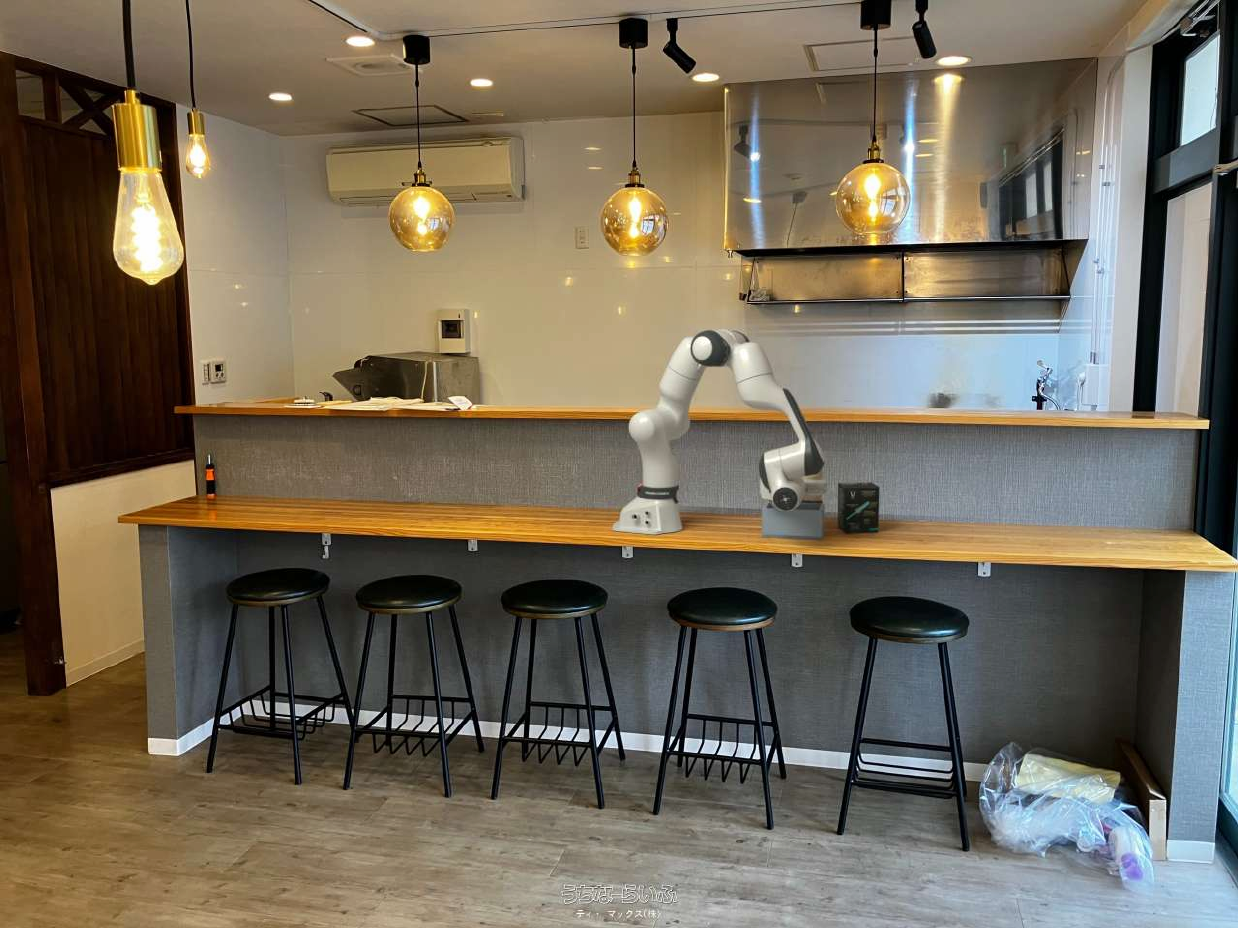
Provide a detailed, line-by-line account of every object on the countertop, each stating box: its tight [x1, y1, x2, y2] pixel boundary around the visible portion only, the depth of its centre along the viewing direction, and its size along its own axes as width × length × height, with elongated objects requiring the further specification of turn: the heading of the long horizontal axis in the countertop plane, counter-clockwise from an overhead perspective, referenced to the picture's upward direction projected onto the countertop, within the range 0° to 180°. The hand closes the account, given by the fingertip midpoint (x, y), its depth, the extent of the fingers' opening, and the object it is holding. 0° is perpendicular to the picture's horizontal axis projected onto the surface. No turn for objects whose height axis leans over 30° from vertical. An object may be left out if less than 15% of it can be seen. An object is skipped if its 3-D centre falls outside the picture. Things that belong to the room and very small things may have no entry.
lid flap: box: [768, 448, 824, 504], centre depth 300 cm, size 17×1×17 cm, turn 74°
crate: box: [761, 500, 826, 541], centre depth 295 cm, size 18×12×9 cm, turn 74°
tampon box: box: [837, 481, 880, 534], centre depth 300 cm, size 11×9×15 cm
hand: (795, 481), depth 297 cm, fingers closed
